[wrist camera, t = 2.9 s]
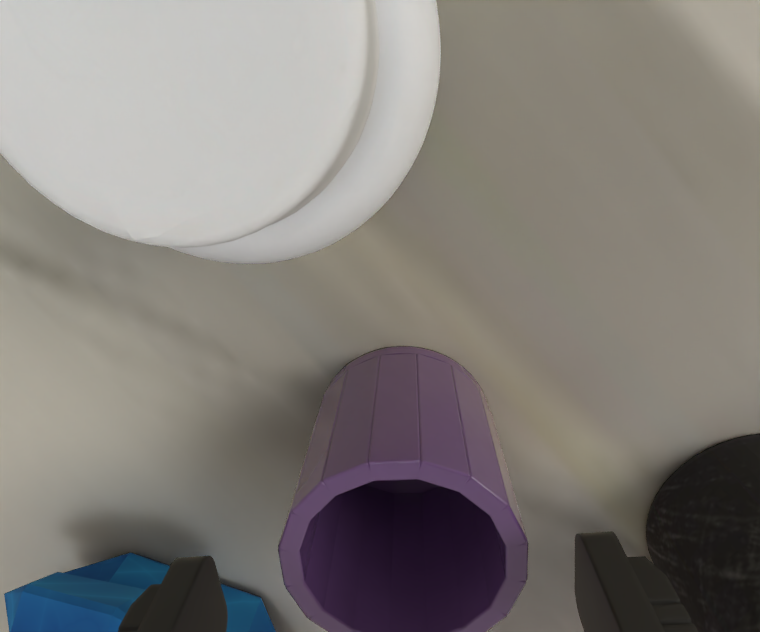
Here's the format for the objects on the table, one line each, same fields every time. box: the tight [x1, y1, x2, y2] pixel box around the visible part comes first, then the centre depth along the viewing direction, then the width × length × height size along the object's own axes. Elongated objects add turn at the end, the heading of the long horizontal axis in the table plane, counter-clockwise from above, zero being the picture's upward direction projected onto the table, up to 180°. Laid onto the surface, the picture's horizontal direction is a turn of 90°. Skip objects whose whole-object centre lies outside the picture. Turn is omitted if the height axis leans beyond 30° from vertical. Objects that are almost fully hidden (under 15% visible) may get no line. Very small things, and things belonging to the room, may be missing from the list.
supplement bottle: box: [0, 0, 441, 264], centre depth 10 cm, size 6×6×10 cm
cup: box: [278, 346, 528, 632], centre depth 15 cm, size 6×6×6 cm
